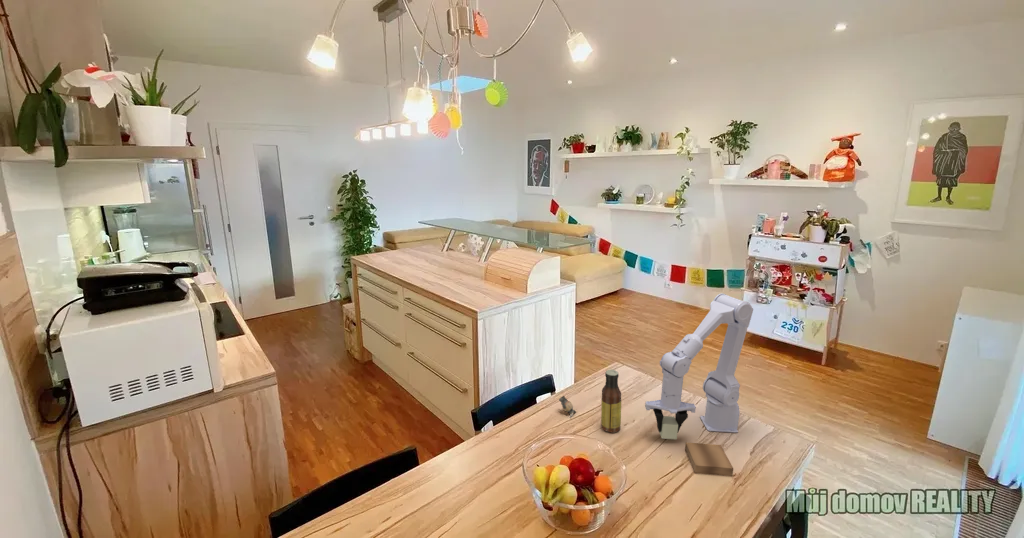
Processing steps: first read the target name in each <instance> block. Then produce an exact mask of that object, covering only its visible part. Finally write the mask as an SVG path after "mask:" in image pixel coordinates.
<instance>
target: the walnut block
mask: <svg viewBox="0 0 1024 538" xmlns="http://www.w3.org/2000/svg"><path fill="white" fill-rule="evenodd" d="M684 445H685V446H684V452H685V453H686V456H687V458H688V461H689V462H690V466H691V468H692V471H693V473H694V474H698V475H699V474H701V475H711V476H712V475H713V476H726V477H733V473H734V467H733V465H732V463H731V461H730V460H729V458H728V456H727V454H726V453H725V450H724V449H723V447H722V445H721V444H712V443H700V442H698V443H697V442H687V441H686V442H685V444H684Z"/></svg>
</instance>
